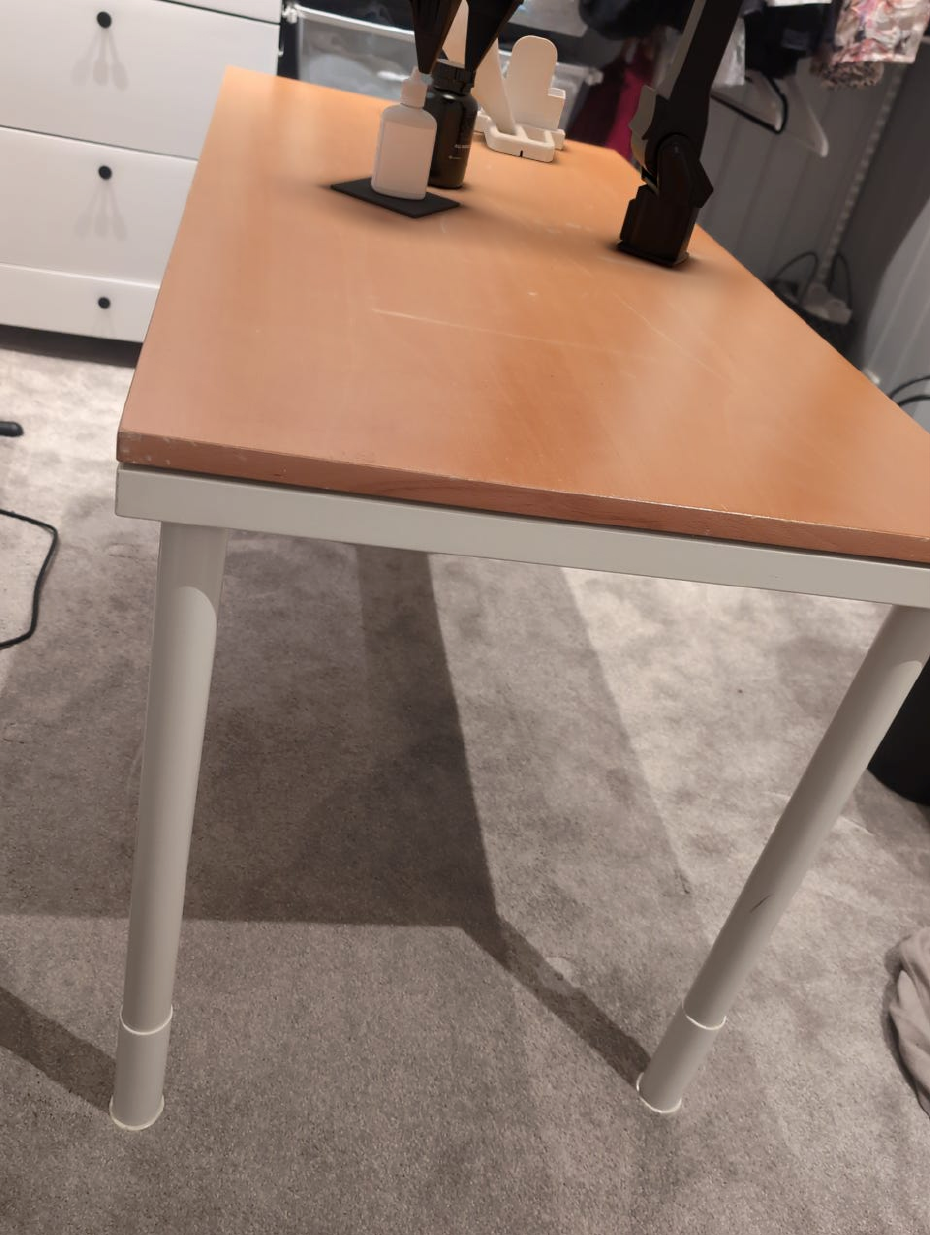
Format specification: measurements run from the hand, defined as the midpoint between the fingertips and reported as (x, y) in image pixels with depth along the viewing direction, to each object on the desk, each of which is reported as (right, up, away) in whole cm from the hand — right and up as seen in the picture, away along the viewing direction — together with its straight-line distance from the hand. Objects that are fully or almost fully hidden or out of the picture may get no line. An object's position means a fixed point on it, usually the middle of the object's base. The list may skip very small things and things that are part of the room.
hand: (447, 72), depth 98 cm
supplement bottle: (-2, -2, +19) cm, 19 cm away
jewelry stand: (+4, +16, +47) cm, 49 cm away
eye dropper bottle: (-5, -8, +9) cm, 13 cm away
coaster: (-6, -8, +9) cm, 13 cm away
